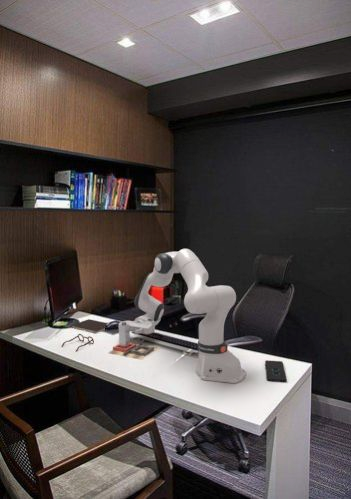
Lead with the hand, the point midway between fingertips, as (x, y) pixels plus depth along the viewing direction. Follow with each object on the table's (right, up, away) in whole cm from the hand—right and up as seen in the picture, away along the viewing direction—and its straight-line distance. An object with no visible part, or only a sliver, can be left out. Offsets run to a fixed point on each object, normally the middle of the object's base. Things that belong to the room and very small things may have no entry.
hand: (127, 331), depth 195 cm
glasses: (-29, -10, +8) cm, 32 cm away
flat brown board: (+4, -10, -5) cm, 12 cm away
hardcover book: (-28, -7, +41) cm, 50 cm away
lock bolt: (-1, -9, -2) cm, 9 cm away
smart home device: (+71, -12, -31) cm, 78 cm away
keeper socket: (-1, -9, -2) cm, 9 cm away
